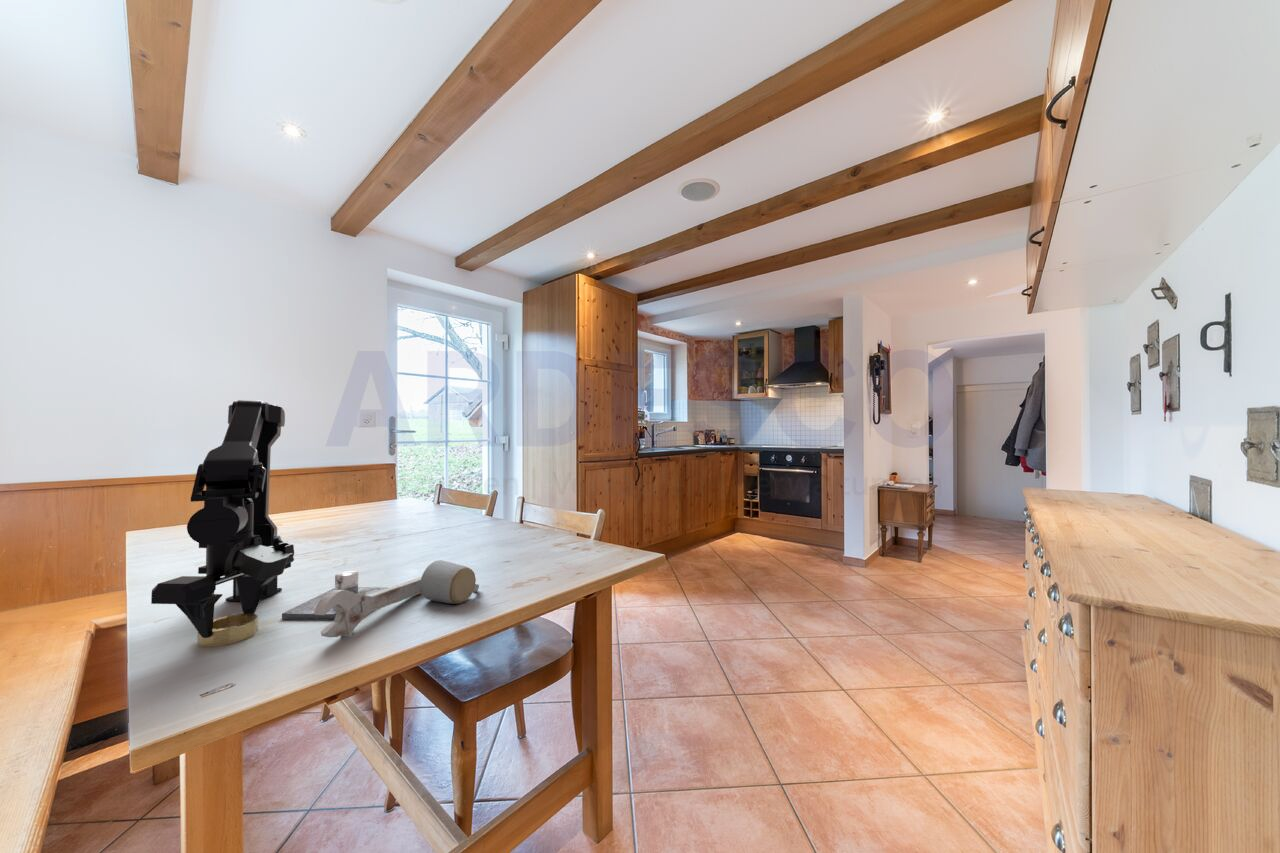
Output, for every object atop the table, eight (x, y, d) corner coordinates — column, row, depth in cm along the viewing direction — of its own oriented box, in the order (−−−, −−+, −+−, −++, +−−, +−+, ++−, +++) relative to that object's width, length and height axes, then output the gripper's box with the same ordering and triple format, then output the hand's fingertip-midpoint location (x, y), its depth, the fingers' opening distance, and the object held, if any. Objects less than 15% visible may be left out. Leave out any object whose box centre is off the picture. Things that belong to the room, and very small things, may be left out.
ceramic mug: (451, 610, 84) (452, 569, 84) (418, 605, 87) (419, 565, 87) (488, 593, 94) (489, 556, 94) (457, 588, 97) (458, 552, 97)
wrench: (434, 601, 97) (320, 650, 68) (426, 600, 97) (309, 650, 68) (437, 563, 98) (325, 595, 69) (429, 562, 98) (315, 595, 69)
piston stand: (281, 619, 80) (282, 585, 80) (336, 591, 94) (336, 563, 94) (358, 619, 80) (358, 586, 80) (401, 592, 94) (402, 563, 94)
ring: (185, 646, 70) (186, 631, 70) (228, 627, 77) (228, 613, 77) (229, 646, 70) (229, 631, 70) (267, 627, 77) (268, 613, 77)
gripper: (223, 546, 64) (222, 656, 64) (320, 521, 83) (319, 606, 82) (148, 546, 64) (146, 655, 64) (261, 521, 83) (260, 605, 83)
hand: (228, 627), depth 73 cm, fingers closed on ring, 7 cm apart
